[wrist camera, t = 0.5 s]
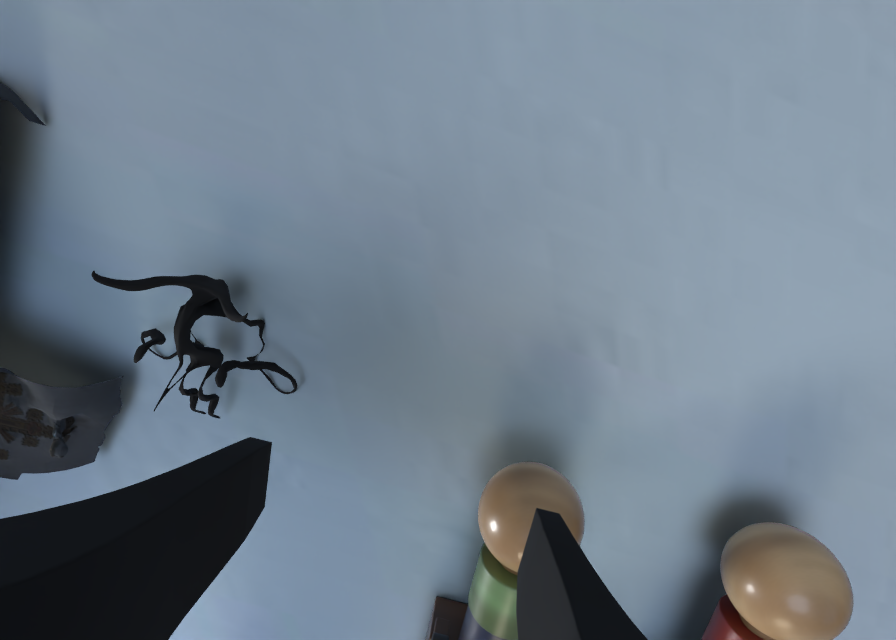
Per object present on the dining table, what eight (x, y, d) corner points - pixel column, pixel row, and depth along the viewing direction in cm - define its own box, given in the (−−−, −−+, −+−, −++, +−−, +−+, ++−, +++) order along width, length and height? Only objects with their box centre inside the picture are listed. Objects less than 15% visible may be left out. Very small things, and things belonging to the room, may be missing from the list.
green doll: (532, 624, 24) (538, 715, 20) (448, 601, 24) (436, 687, 20) (587, 456, 21) (608, 520, 17) (492, 432, 21) (489, 489, 17)
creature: (303, 416, 25) (315, 279, 21) (247, 495, 20) (250, 337, 16) (162, 374, 25) (149, 233, 21) (74, 444, 20) (38, 277, 16)
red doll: (740, 680, 23) (793, 787, 19) (652, 656, 24) (684, 756, 19) (824, 514, 21) (907, 596, 16) (723, 489, 21) (779, 563, 17)
